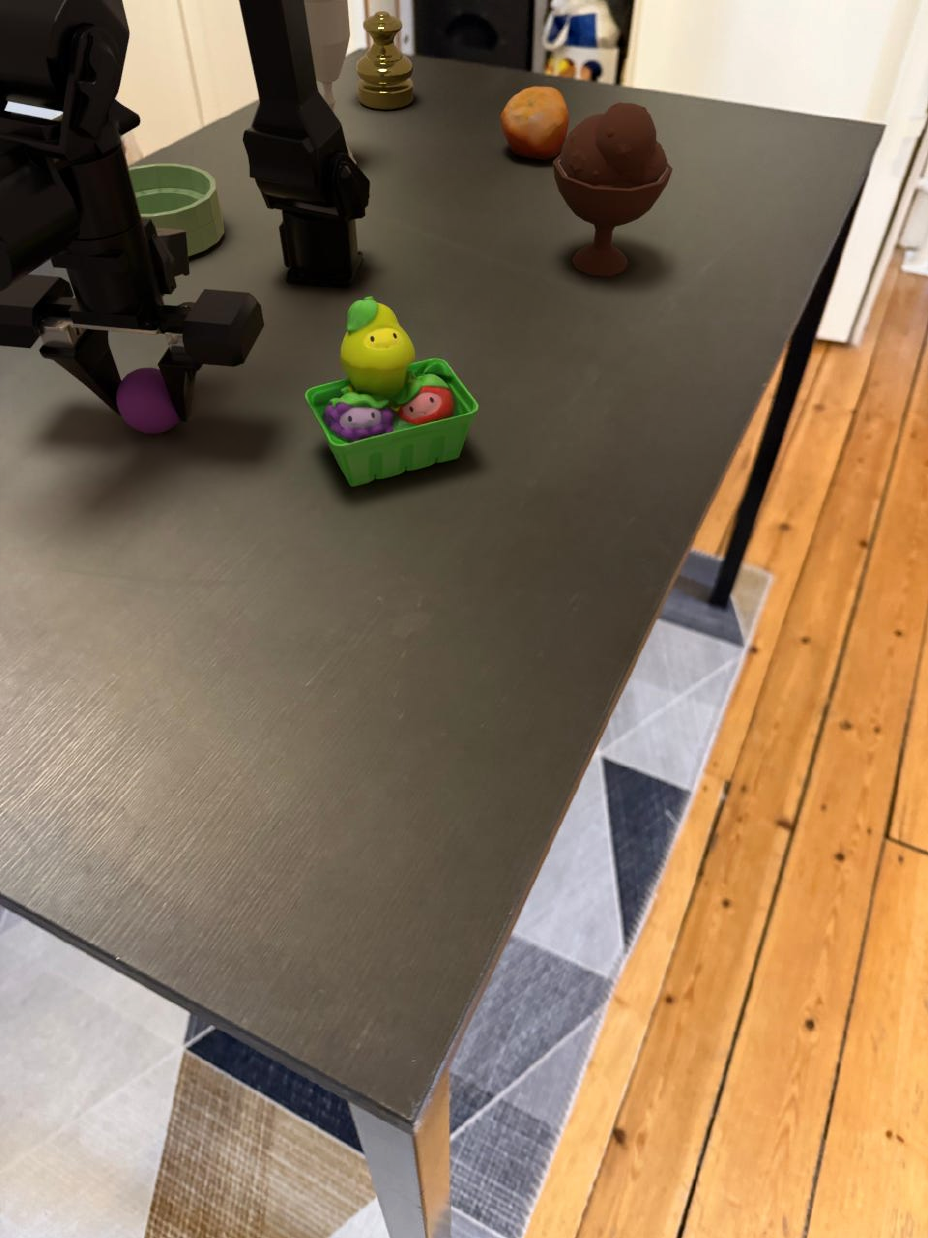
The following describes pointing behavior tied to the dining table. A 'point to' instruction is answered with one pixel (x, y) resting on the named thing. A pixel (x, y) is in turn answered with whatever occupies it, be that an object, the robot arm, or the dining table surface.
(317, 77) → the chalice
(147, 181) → the green bowl
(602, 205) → the ice cream bowl
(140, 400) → the ball
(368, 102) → the gold chess piece
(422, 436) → the fruit basket
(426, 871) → the dining table surface
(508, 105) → the fruit
